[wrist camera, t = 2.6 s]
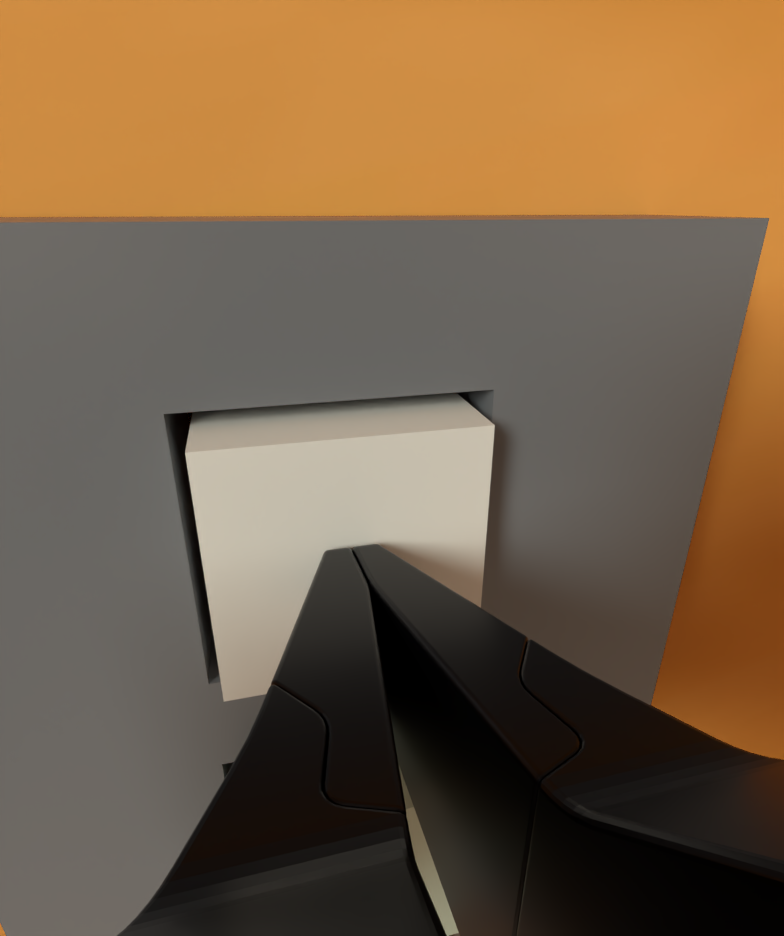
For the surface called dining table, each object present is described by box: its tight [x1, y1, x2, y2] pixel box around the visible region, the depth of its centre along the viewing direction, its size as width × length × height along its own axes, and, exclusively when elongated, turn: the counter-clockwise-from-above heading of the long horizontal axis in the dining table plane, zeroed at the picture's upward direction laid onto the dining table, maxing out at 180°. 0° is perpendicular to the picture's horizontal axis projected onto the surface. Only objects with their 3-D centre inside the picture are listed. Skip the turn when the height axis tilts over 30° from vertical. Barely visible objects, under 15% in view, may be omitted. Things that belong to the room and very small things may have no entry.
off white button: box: [185, 392, 495, 702], centre depth 10 cm, size 4×4×3 cm
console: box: [0, 215, 769, 936], centre depth 14 cm, size 14×24×3 cm, turn 0°
